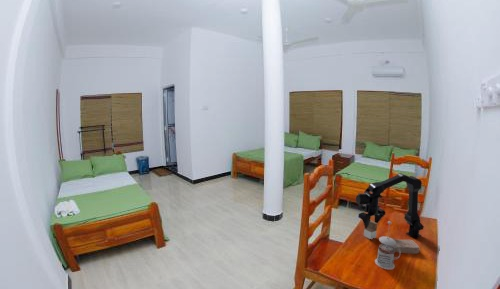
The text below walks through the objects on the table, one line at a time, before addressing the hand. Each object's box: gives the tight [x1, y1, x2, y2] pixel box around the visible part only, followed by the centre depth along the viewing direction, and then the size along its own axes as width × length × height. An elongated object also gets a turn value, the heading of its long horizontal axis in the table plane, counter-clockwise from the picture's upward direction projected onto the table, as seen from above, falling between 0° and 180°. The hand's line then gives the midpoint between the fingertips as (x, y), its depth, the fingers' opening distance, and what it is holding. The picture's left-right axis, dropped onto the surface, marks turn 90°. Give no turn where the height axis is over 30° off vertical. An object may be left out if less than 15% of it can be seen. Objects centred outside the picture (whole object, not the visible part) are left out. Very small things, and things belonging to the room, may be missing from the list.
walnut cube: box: [364, 219, 378, 232], centre depth 167 cm, size 5×5×5 cm
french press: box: [374, 220, 401, 270], centre depth 139 cm, size 10×12×25 cm
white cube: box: [363, 228, 377, 240], centre depth 168 cm, size 5×5×5 cm
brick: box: [392, 238, 420, 255], centre depth 155 cm, size 17×8×5 cm, turn 82°
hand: (370, 226), depth 167 cm, fingers open, 9 cm apart
